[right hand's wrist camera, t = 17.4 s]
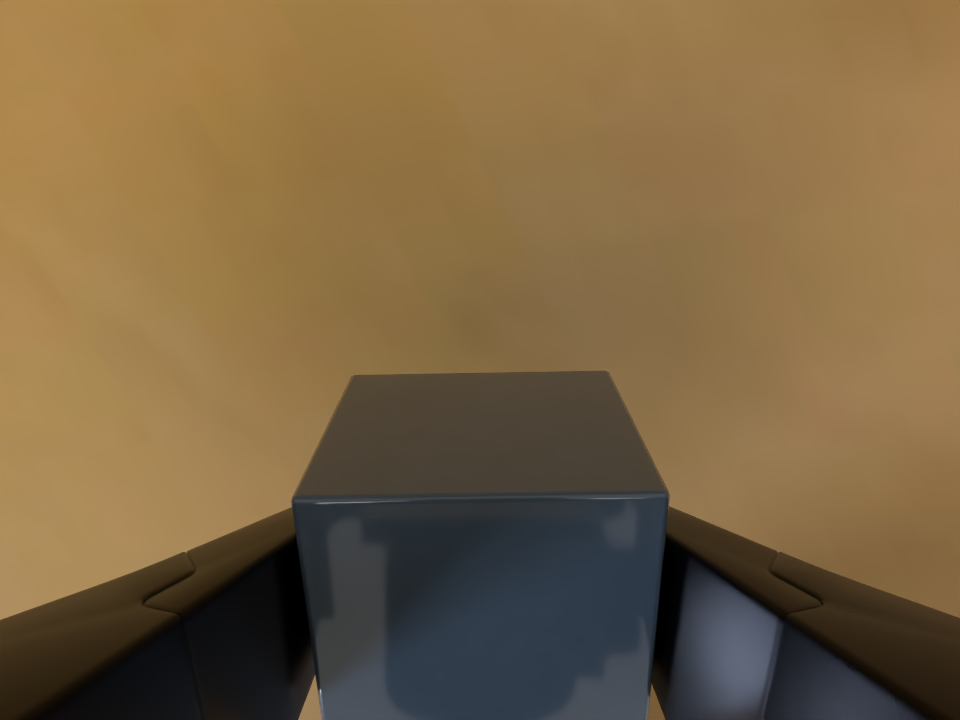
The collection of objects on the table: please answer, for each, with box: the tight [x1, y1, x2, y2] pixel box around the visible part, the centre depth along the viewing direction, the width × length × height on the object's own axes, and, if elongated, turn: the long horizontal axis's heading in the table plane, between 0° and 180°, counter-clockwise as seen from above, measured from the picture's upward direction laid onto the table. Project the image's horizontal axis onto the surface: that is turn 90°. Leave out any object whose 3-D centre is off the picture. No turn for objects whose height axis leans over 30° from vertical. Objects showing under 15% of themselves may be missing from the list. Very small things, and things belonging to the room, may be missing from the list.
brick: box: [291, 371, 670, 720], centre depth 10 cm, size 5×4×4 cm
